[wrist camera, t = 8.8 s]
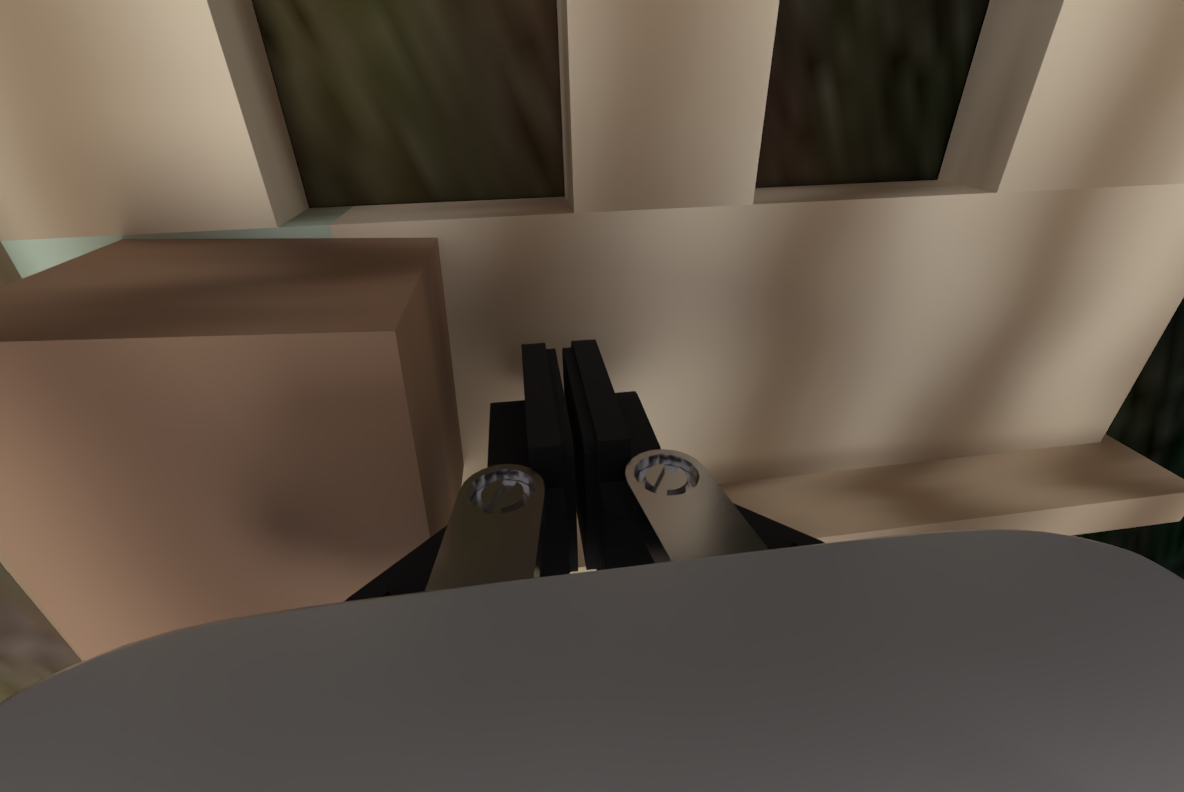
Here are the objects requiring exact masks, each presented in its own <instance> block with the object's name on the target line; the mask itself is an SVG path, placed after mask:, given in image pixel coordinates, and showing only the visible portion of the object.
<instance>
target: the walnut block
mask: <svg viewBox="0 0 1184 792" xmlns="http://www.w3.org/2000/svg"><path fill="white" fill-rule="evenodd" d="M463 468H464V462H463V453H462V444H461V436H460V427H459V419H458V410H457V401H456V393H455V384H454V375H453V367H452V358H451V350H450V341H449V332H448V324H447V315H446V307H445V298H444V289H443V281H442V272H441V264H440V255H439V246H438V238H266V239H121V240H119V241H116V242H114V243H111V244H109V245H106V246H104V247H101V248H99V249H96V250H94V251H91V252H89V253H86V254H84V255H81V256H78V257H76V258H73V259H71V260H68V261H66V262H63V263H61V264H58V265H56V266H53V267H51V268H48V269H46V270H43V271H41V272H38V273H36V274H33V275H31V276H28V277H25V278H23V279H20V280H18V281H15V282H13V283H10V284H8V285H5V286H3V287H0V547H1V548H2V550H3V551H4V552H5V554H6V555H7V557H8V558H9V559H10V561H11V562H12V563H13V565H14V566H15V567H16V569H17V570H18V571H19V573H20V574H21V576H22V577H23V578H24V580H25V581H26V582H27V584H28V585H29V586H30V588H31V589H32V591H33V592H34V593H35V595H36V596H37V597H38V599H39V600H40V601H41V603H42V604H43V605H44V607H45V608H46V610H47V611H48V612H49V614H50V615H51V616H52V618H53V619H54V620H55V622H56V623H57V625H58V626H59V627H60V629H61V630H62V631H63V633H64V634H65V635H66V637H67V638H68V639H69V641H70V642H71V644H72V645H73V646H74V648H75V649H76V650H77V652H78V653H79V654H80V656H81V657H82V658H83V660H84V661H85V660H87V659H90V658H92V657H95V656H98V655H100V654H103V653H105V652H108V651H110V650H113V649H115V648H118V647H120V646H123V645H126V644H129V643H133V642H136V641H139V640H143V639H146V638H149V637H153V636H156V635H159V634H163V633H166V632H169V631H173V630H177V629H181V628H186V627H190V626H195V625H199V624H204V623H208V622H213V621H217V620H223V619H229V618H236V617H242V616H248V615H255V614H261V613H268V612H274V611H281V610H287V609H294V608H300V607H306V606H314V605H322V604H330V603H338V602H344V601H345V600H346V599H347V598H348V597H350V596H351V595H353V594H354V593H355V592H357V591H358V590H359V589H361V588H362V587H363V586H365V585H366V584H368V583H369V582H370V581H372V580H373V579H374V578H376V577H377V576H378V575H380V574H381V573H383V572H384V571H385V570H387V569H388V568H389V567H391V566H392V565H393V564H395V563H396V562H398V561H399V560H400V559H402V558H403V557H404V556H406V555H407V554H408V553H410V552H411V551H412V550H414V549H415V548H417V547H418V546H419V545H421V544H422V543H423V542H425V541H426V540H427V539H429V538H430V537H432V536H433V535H434V534H436V533H437V532H438V531H440V530H441V529H442V528H444V527H445V526H447V525H448V522H449V519H450V516H451V513H452V510H453V507H454V504H455V501H456V498H457V495H458V493H459V490H460V488H461V486H462V477H463Z"/></svg>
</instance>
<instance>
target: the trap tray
mask: <svg viewBox="0 0 1184 792" xmlns="http://www.w3.org/2000/svg"><path fill="white" fill-rule="evenodd" d="M778 7H779V0H557V18H558V42H559V66H560V89H561V113H562V137H563V161H564V185H565V197H545V198H523V199H501V200H478V201H456V202H434V203H411V204H389V205H367V206H344V207H322V208H309V206H308V202H307V199H306V195H305V191H304V188H303V184H302V181H301V177H300V173H299V170H298V166H297V163H296V159H295V155H294V152H293V148H292V145H291V141H290V137H289V134H288V130H287V127H286V123H285V119H284V116H283V112H282V109H281V105H280V101H279V98H278V94H277V91H276V87H275V83H274V80H273V76H272V73H271V69H270V65H269V62H268V58H267V54H266V51H265V47H264V44H263V40H262V36H261V33H260V29H259V26H258V22H257V18H256V15H255V11H254V8H253V4H252V0H0V287H3V286H5V285H8V284H10V283H13V282H15V281H18V280H20V279H23V278H25V277H28V276H31V275H33V274H36V273H38V272H41V271H43V270H46V269H48V268H51V267H53V266H56V265H58V264H61V263H63V262H66V261H68V260H71V259H73V258H76V257H78V256H81V255H84V254H86V253H89V252H91V251H94V250H96V249H99V248H101V247H104V246H106V245H109V244H111V243H114V242H116V241H119V240H121V239H266V238H438V246H439V255H440V264H441V272H442V281H443V289H444V298H445V307H446V315H447V324H448V332H449V341H450V350H451V358H452V367H453V375H454V384H455V393H456V401H457V410H458V419H459V427H460V436H461V444H462V453H463V462H464V468H463V477H462V485H463V483H464V482H465V481H466V480H467V479H468V478H469V477H470V476H471V475H472V474H474V473H476V472H478V471H480V470H482V469H484V468H487V462H488V440H489V418H490V403H495V402H507V401H520V400H525V396H524V380H523V365H522V349H521V344H534V343H545V344H546V349H554V348H555V349H556V354H557V360H558V365H559V370H560V375H561V380H562V385H563V391H564V380H563V357H562V348H568V347H571V341H577V340H592V339H595V340H596V342H597V345H598V347H599V350H600V353H601V356H602V358H603V361H604V364H605V367H606V370H607V372H608V375H609V378H610V381H611V383H612V386H613V389H614V392H615V393H618V392H630V391H636V393H637V394H638V396H639V399H640V401H641V403H642V405H643V408H644V410H645V412H646V415H647V417H648V419H649V422H650V424H651V426H652V429H653V431H654V433H655V436H656V438H657V440H658V442H659V445H660V447H661V449H666V450H675V451H679V452H682V453H686V454H688V455H690V456H692V457H694V458H695V459H697V460H698V461H699V462H700V463H701V464H702V465H703V466H704V467H705V468H706V469H707V471H708V472H709V473H710V474H711V476H712V477H713V478H714V479H715V481H716V482H717V483H718V485H719V486H720V487H721V488H722V490H723V491H724V492H725V494H726V495H727V496H728V497H729V499H730V500H731V501H732V503H734V504H737V505H739V506H741V507H744V508H746V509H749V510H751V511H753V512H756V513H758V514H760V515H763V516H765V517H767V518H770V519H772V520H774V521H777V522H779V523H781V524H784V525H786V526H788V527H791V528H793V529H795V530H798V531H800V532H802V533H805V534H807V535H809V536H812V537H814V538H816V539H819V540H821V541H823V542H825V543H832V542H840V541H849V540H858V539H866V538H875V537H884V536H892V535H901V534H913V533H925V532H937V531H949V530H962V529H1019V530H1032V531H1045V532H1051V533H1057V534H1062V535H1068V536H1071V535H1078V534H1086V533H1094V532H1101V531H1109V530H1116V529H1124V528H1132V527H1139V526H1147V525H1155V524H1162V523H1170V522H1178V521H1180V520H1181V519H1182V517H1183V516H1184V479H1182V478H1180V477H1179V476H1177V475H1175V474H1174V473H1172V472H1170V471H1168V470H1167V469H1165V468H1163V467H1161V466H1160V465H1158V464H1156V463H1154V462H1153V461H1151V460H1149V459H1148V458H1146V457H1144V456H1142V455H1141V454H1139V453H1137V452H1135V451H1134V450H1132V449H1130V448H1129V447H1127V446H1125V445H1123V444H1122V443H1120V442H1118V441H1116V440H1115V439H1113V438H1111V437H1110V436H1108V435H1106V434H1105V433H1106V431H1107V430H1108V428H1109V426H1110V424H1111V423H1112V421H1113V419H1114V417H1115V416H1116V414H1117V412H1118V410H1119V409H1120V407H1121V405H1122V404H1123V402H1124V400H1125V398H1126V397H1127V395H1128V393H1129V391H1130V390H1131V388H1132V386H1133V384H1134V383H1135V381H1136V379H1137V377H1138V376H1139V374H1140V372H1141V370H1142V369H1143V367H1144V365H1145V363H1146V362H1147V360H1148V358H1149V356H1150V355H1151V353H1152V351H1153V349H1154V348H1155V346H1156V344H1157V342H1158V341H1159V339H1160V337H1161V335H1162V334H1163V332H1164V330H1165V328H1166V327H1167V325H1168V323H1169V321H1170V320H1171V318H1172V316H1173V314H1174V313H1175V311H1176V309H1177V307H1178V306H1179V304H1180V302H1181V300H1182V299H1183V297H1184V0H990V2H989V5H988V9H987V12H986V15H985V19H984V22H983V26H982V29H981V33H980V36H979V39H978V43H977V46H976V50H975V53H974V56H973V60H972V63H971V67H970V70H969V74H968V77H967V80H966V84H965V87H964V91H963V94H962V98H961V101H960V104H959V108H958V111H957V115H956V118H955V122H954V125H953V128H952V132H951V135H950V139H949V142H948V145H947V149H946V152H945V156H944V159H943V163H942V166H941V169H940V173H939V176H938V180H924V181H902V182H880V183H857V184H835V185H813V186H790V187H768V188H755V184H756V176H757V169H758V161H759V153H760V146H761V138H762V130H763V123H764V115H765V107H766V99H767V92H768V84H769V76H770V69H771V61H772V53H773V45H774V38H775V30H776V22H777V15H778ZM576 514H577V512H576ZM577 543H578V571H576V572H570V574H572V573H581V572H589V571H597V570H596V569H592V570H586V565H585V559H584V553H583V548H582V542H581V536H580V530H579V524H578V518H577ZM0 562H1V564H2V565H3V566H4V567H5V569H6V570H7V571H8V572H9V573H10V575H11V576H12V577H13V578H14V579H15V581H16V582H17V583H18V584H19V585H20V587H21V588H22V589H23V590H24V591H25V593H26V594H27V595H28V596H29V597H30V599H31V600H32V601H33V602H34V603H35V605H36V606H37V607H38V608H39V609H40V611H41V612H42V613H43V614H44V615H45V617H46V618H47V619H48V620H49V621H50V623H51V624H52V625H53V626H54V627H55V629H56V630H57V631H58V632H59V633H60V635H61V636H62V637H63V638H64V639H65V641H66V642H67V643H68V644H69V645H70V647H71V648H72V649H73V650H74V651H75V653H76V654H77V655H78V656H79V657H80V659H81V660H82V661H84V660H83V658H82V657H81V656H80V654H79V653H78V652H77V650H76V649H75V648H74V646H73V645H72V644H71V642H70V641H69V639H68V638H67V637H66V635H65V634H64V633H63V631H62V630H61V629H60V627H59V626H58V625H57V623H56V622H55V620H54V619H53V618H52V616H51V615H50V614H49V612H48V611H47V610H46V608H45V607H44V605H43V604H42V603H41V601H40V600H39V599H38V597H37V596H36V595H35V593H34V592H33V591H32V589H31V588H30V586H29V585H28V584H27V582H26V581H25V580H24V578H23V577H22V576H21V574H20V573H19V571H18V570H17V569H16V567H15V566H14V565H13V563H12V562H11V561H10V559H9V558H8V557H7V555H6V554H5V552H4V551H3V550H2V548H1V547H0Z"/></svg>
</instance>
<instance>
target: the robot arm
mask: <svg viewBox="0 0 1184 792" xmlns="http://www.w3.org/2000/svg"><path fill="white" fill-rule="evenodd" d="M521 349H522V365H523V380H524V396H525V400H520V401H507V402H495V403H490V418H489V440H488V462H487V468H484V469H482V470H480V471H478V472H476V473H474V474H472V475H471V476H470V477H469V478H468V479H467V480H466V481H465V482H464V483H463V485H462V486H461V488H460V490H459V493H458V495H457V498H456V501H455V504H454V507H453V510H452V513H451V516H450V519H449V522H448V525H447V526H445V527H444V528H442V529H441V530H440V531H438V532H437V533H436V534H434V535H433V536H432V537H430V538H429V539H427V540H426V541H425V542H423V543H422V544H421V545H419V546H418V547H417V548H415V549H414V550H412V551H411V552H410V553H408V554H407V555H406V556H404V557H403V558H402V559H400V560H399V561H398V562H396V563H395V564H393V565H392V566H391V567H389V568H388V569H387V570H385V571H384V572H383V573H381V574H380V575H378V576H377V577H376V578H374V579H373V580H372V581H370V582H369V583H368V584H366V585H365V586H363V587H362V588H361V589H359V590H358V591H357V592H355V593H354V594H353V595H351V596H350V597H348V598H347V599H346V600H345V601H344V602H338V603H330V604H322V605H314V606H306V607H300V608H294V609H287V610H281V611H274V612H268V613H261V614H255V615H248V616H242V617H236V618H229V619H223V620H217V621H213V622H208V623H204V624H199V625H195V626H190V627H186V628H181V629H177V630H173V631H169V632H166V633H163V634H159V635H156V636H153V637H149V638H146V639H143V640H139V641H136V642H133V643H129V644H126V645H123V646H120V647H118V648H115V649H113V650H110V651H108V652H105V653H103V654H100V655H98V656H95V657H92V658H90V659H87V660H85V661H82V662H80V663H77V664H75V665H72V666H70V667H67V668H65V669H63V670H61V671H59V672H57V673H55V674H52V675H50V676H48V677H46V678H44V679H42V680H40V681H38V682H36V683H34V684H32V685H30V686H29V687H27V688H25V689H23V690H21V691H19V692H17V693H16V694H14V695H12V696H10V697H9V698H7V699H6V700H4V701H3V702H1V703H0V792H1184V580H1183V579H1182V578H1180V577H1179V576H1177V575H1175V574H1174V573H1172V572H1171V571H1169V570H1167V569H1166V568H1164V567H1162V566H1160V565H1158V564H1156V563H1155V562H1153V561H1151V560H1149V559H1147V558H1145V557H1143V556H1141V555H1139V554H1136V553H1134V552H1131V551H1129V550H1126V549H1122V548H1119V547H1115V546H1112V545H1109V544H1105V543H1102V542H1098V541H1093V540H1089V539H1085V538H1080V537H1074V536H1068V535H1062V534H1057V533H1051V532H1045V531H1032V530H1019V529H962V530H949V531H937V532H925V533H913V534H901V535H892V536H884V537H875V538H866V539H858V540H849V541H840V542H832V543H825V542H823V541H821V540H819V539H816V538H814V537H812V536H809V535H807V534H805V533H802V532H800V531H798V530H795V529H793V528H791V527H788V526H786V525H784V524H781V523H779V522H777V521H774V520H772V519H770V518H767V517H765V516H763V515H760V514H758V513H756V512H753V511H751V510H749V509H746V508H744V507H741V506H739V505H737V504H734V503H732V501H731V500H730V499H729V497H728V496H727V495H726V494H725V492H724V491H723V490H722V488H721V487H720V486H719V485H718V483H717V482H716V481H715V479H714V478H713V477H712V476H711V474H710V473H709V472H708V471H707V469H706V468H705V467H704V466H703V465H702V464H701V463H700V462H699V461H698V460H697V459H695V458H694V457H692V456H690V455H688V454H686V453H682V452H679V451H675V450H666V449H661V447H660V445H659V442H658V440H657V438H656V436H655V433H654V431H653V429H652V426H651V424H650V422H649V419H648V417H647V415H646V412H645V410H644V408H643V405H642V403H641V401H640V399H639V396H638V394H637V393H636V391H630V392H618V393H615V392H614V389H613V386H612V383H611V381H610V378H609V375H608V372H607V370H606V367H605V364H604V361H603V358H602V356H601V353H600V350H599V347H598V345H597V342H596V340H595V339H592V340H577V341H571V347H568V348H562V357H563V380H564V391H563V385H562V380H561V375H560V370H559V365H558V360H557V354H556V349H555V348H554V349H546V344H545V343H534V344H521ZM576 512H577V514H576ZM577 518H578V524H579V530H580V536H581V542H582V548H583V553H584V559H585V565H586V570H592V569H596V570H597V571H589V572H581V573H572V574H570V572H576V571H578V543H577Z"/></svg>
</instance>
